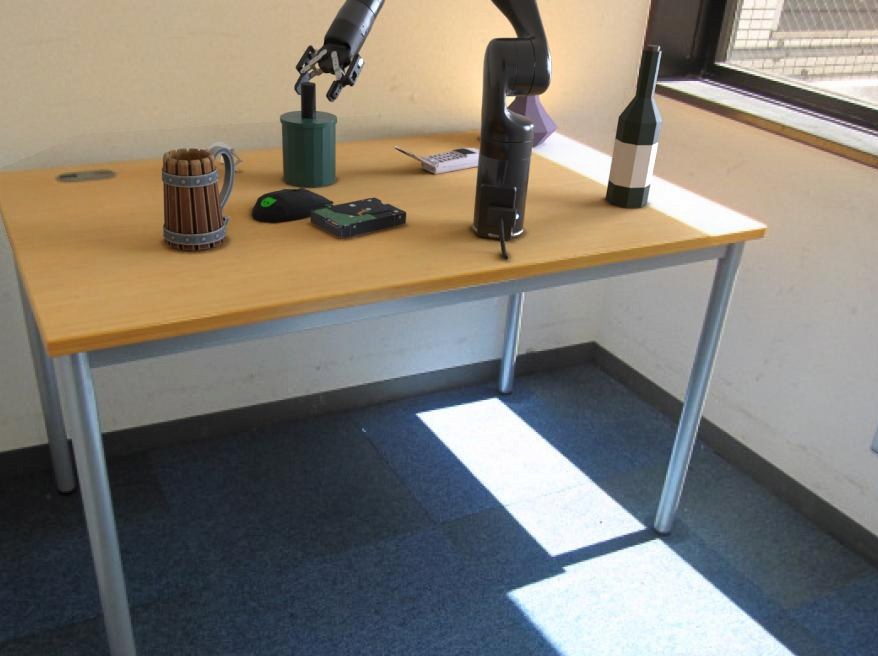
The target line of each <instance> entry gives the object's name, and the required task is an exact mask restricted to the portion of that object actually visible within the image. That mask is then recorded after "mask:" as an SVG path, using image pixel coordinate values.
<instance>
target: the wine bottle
mask: <svg viewBox="0 0 878 656" xmlns="http://www.w3.org/2000/svg"><path fill="white" fill-rule="evenodd" d="M662 52H663V51H662V50H661V46H660V45H658V44H646V45H645V48H644V49H642V54H641V61H640V66H639V72H638V78H637V85H636V90H635V95H634V97H632V99H631V101H629V103H628V104H627V105H626V107H625V108H624V110H622V112H621V113H620V114H619V116H618V118H617V119H618V120H617V125H616V130H615V132H616V133H615V137H614V144H613V150H612V156H611V161H610V167H609V173H608V174H609V175H608V180H607V187H606V193H605V199H604V200H605V201H606V202H607V203H608V204H609V205H612V206H616V207H619V208H624V209H641V208H643V207H645V206H646V205H647V204H648V199H649V195H650V188H651V183H652V178H653V173H654V167H655V162H656V157H657V151H658V147H659V146H658V145H659V140H660V136H661V131H662V124H663V118H662V116H661V113H660V110H659V108H658V105H657V103H656V102H657V101H656V100H655V98H654V97H655V90H656V85H657V79H658V75H659V69H660V63H661V57H662Z"/></svg>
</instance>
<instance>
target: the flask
mask: <svg viewBox="0 0 878 656" xmlns="http://www.w3.org/2000/svg"><path fill="white" fill-rule="evenodd" d="M514 97H515V98H514V99H513V100H512V102H511V103H510V104H509V105H507V108H508V109H510V110H511V111H513V112H515V113H517V114H520V115H523V116H525V117H528V118H529V119H531V120H532V121H533V122H534V126H535V128H534V137H533V145H532V148H536V147H539V146H541V145H542V144H543V143H544V142H546V140H548V138H549V137H550V136H552V134H553V133H555V131H556V130H557V129H559V126H558V125H557V124H556V123H555V121H554V120H553V119H552V117H551V116H550V115H549V114H548V112H547V110H546V109H545V107H544V106H543V104H542V102H541V101H540V95H537V96H514Z"/></svg>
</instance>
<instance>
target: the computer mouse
mask: <svg viewBox="0 0 878 656" xmlns="http://www.w3.org/2000/svg"><path fill="white" fill-rule="evenodd" d="M255 201H256V202H255V203H254V205H253V207H252V209H251V217H252V220H254V221H257V222H259V223H265V224H280V223H281V224H282V223H289V222H294V221H295V222H296V221H301V220H304V219H305V220H306V219H309V218H310V210H314V209H319V208H323V207H329V206H333V205H334V201H333V200H330V199H328V198H327V197H325V196H324V195H321V194H319V193H317V192H314V191H312V190H310V189H307V188H306V187H298V188H282V189H279V190H274V191H269V192H267V193H264V194H262V195H260V196H258V197H257V199H256V200H255Z"/></svg>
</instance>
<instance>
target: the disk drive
mask: <svg viewBox="0 0 878 656" xmlns="http://www.w3.org/2000/svg"><path fill="white" fill-rule="evenodd" d="M309 218H310V223H311V224H313V225H314V226H315V227H318V228H319V229H321V230H323V231H324V232H327V233H329V234H330V235H333V236H334V237H337V238H338V239H348V238H353V237H356V236H361V235H366V234H370V233H374V232H379V231H384V230H389V229H392V228H397V227H400V226H403V225H406V223H407V211H406V210H403V209H401V208H398V207H396V206H394V205H392V204H390V203H383V202H382V200H381V199H379V198H377V197H368V198H363V199H359V200H353V201H349V202H344V203H339V204H333V206H329V207H323V208H319V209H314V210H310V217H309Z"/></svg>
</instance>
